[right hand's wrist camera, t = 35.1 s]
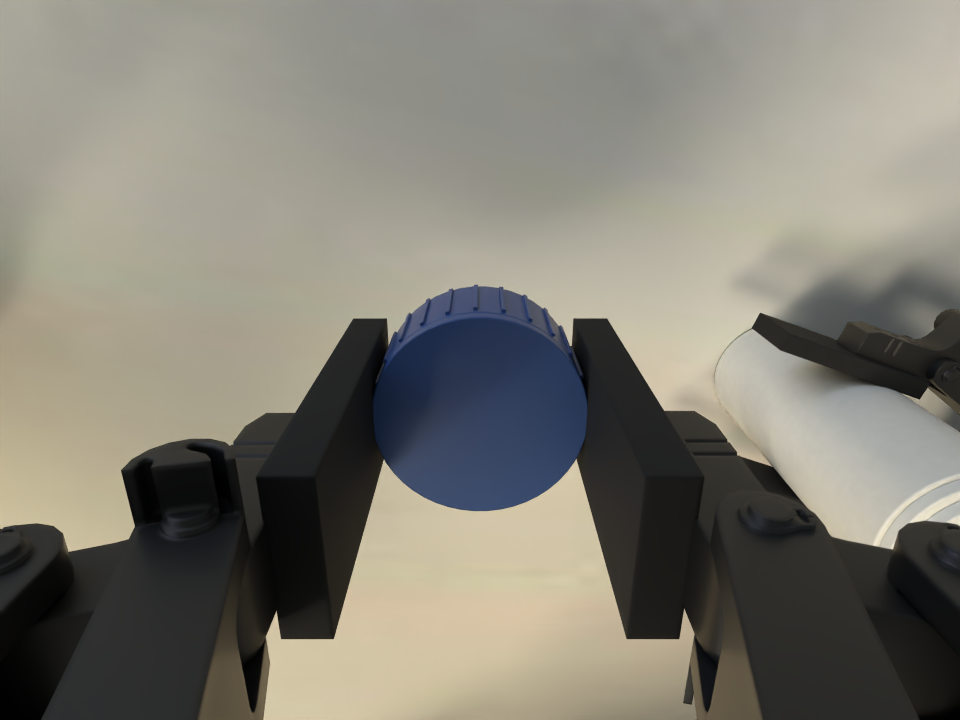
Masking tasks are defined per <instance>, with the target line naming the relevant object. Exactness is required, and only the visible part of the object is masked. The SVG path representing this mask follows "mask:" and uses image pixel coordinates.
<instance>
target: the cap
mask: <svg viewBox="0 0 960 720" xmlns="http://www.w3.org/2000/svg"><path fill="white" fill-rule="evenodd" d="M583 378H584V376H583V373H582V371H581V368H580V366H579V363H578V360H577V358H576V355H575V353H574V350H573V348H572V346H570V345H569V343H568V340H567V337H566V335H565V332H564V330H563V327H562V326H558V325H557V323H556V322H555V321H554V320H553V318H552V317H551V316H550V315H549V314H548V311H547V309H546V308H544V309H542V308H541V307H540V306H538V305H537V304H536V303H534V302H533V301H531V300H529V299H528V298H527V296H526V295H523V296H522V295H519V294H517V293H514V292H512V291H508V290H504V289H503V287H499V288H494V287H478V285H474V287H466V288H459V289H456V290H453V289H449V291H448V292H446V293H443V294H441V295H439V296H436V297H434V298H433V299H431V300H430V298H428V299H427V300H426V302H425V303H424V304H423V305H422V306H420V307H419V308H418V309H416V310H415V311H414V312H413V313H412V314H411V313H409V314H408V315H407V317H406V320H405V322H404V323H403V325H402V326H401V327H400V329H399V331H398V333H397V332H394V334H393V337H392V339H391V342H390V344H389V347H388V349H387V352H386V354H385V357H384V359H383V364H382V367H381V369H380V372H379V374H378V377H377V379H376V382H375V385H376V387H375V391H374V395H373V416H374V430H375V440H376V443H377V445H378V448H379V450H380V453H381V454H382V456H383V458H384V460H385V462H386V463H387V465H388V466H389V467H390V469H391V470H392V471H393V473H394V474H395V475H396V476H397V477H398V478H399V479H400V480H401V481H402V482H403V483H404V484H406V485H407V486H408V487H409V488H411V489H412V490H413V491H415V492H416V493H418V494H420V495H421V496H423V497H425V498H427V499H429V500H431V501H433V502H435V503H438V504H441V505H444V506H447V507H451V508H456V509H460V510H469V511H491V510H500V509H505V508H509V507H513V506H516V505H519V504H522V503H525V502H527V501H529V500H531V499H533V498H535V497H537V496H539V495H540V494H542V493H544V492H545V491H547V490H548V489H550V488H551V487H552V486H553V485H554V484H556V483H557V482H558V481H559V480H560V479H561V478H562V477H563V476H564V475H565V474H566V472H567V471H568V470H569V469H570V467H571V466H572V464H573V463H574V462H575V460H576V458H577V456H578V454H579V452H580V450H581V448H582V445H583V442H584V440H585V435H586V423H587V408H588V400H587V396H586V392H585V387H584V385H583V382H582V379H583Z"/></svg>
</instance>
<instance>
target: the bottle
mask: <svg viewBox="0 0 960 720" xmlns="http://www.w3.org/2000/svg"><path fill="white" fill-rule="evenodd" d="M714 388H715V393H716V396H717V398H718V401H719V402H720V404H721V406H722V407H723V408H724V409H725V411H726V412H727V413H728V414H729V415H730V416H731V418H732V419H733V420H734V421H735V422H736V424H737V425H738V426H739V427H740V428H741V430H742V431H743V432H744V433H745V434H746V435H747V437H748V438H749V439H750V440H751V441H752V443H753V444H754V445H755V446H756V447H757V449H758V450H759V451H760V452H761V453H762V454H763V456H764V457H765V458H766V459H767V460H768V462H769V463H770V464H771V465H772V466H773V468H774V469H775V470H776V471H777V472H778V473H779V475H780V476H781V477H782V478H783V479H784V481H785V482H786V483H787V484H788V485H789V487H790V488H791V489H792V490H793V491H794V492H795V494H796V495H797V496H798V497H799V498H800V500H801V501H802V502H803V503H804V504H805V506H806V507H807V508H808V509H809V510H811V511H812V512H814V513H815V514H816V515H817V516H818V518H819V519H820V520H821V521H822V523H823V524H824V525H825V527H826V529H827V531H828V533H829V534H830V535H831V536H832V537H835V538H839V539H843V540H847V541H852V542H857V543H862V544H867V545H872V546H878V547H883V548H888V549H893V547H894V544H895V541H896V538H897V534H898V531H899V530H900V529H901V528H903V527H904V526H905V525H906V524H908V523H913V522H919V521H933V522H947V523H952V524H957V525H958V526H960V432H959V431H957V430H956V429H954V428H953V427H951V426H950V425H948V424H947V423H945V422H944V421H942V420H941V419H939V418H938V417H936V416H934V415H933V414H931V413H930V412H928V411H927V410H925V409H924V408H922V407H921V406H919V405H918V404H916V403H915V402H913V401H912V400H910V399H909V398H907V397H906V396H904V395H903V394H901V393H900V392H897V391H895V390H892V389H889V388H886V387H883V386H880V385H877V384H874V383H871V382H869V381H866V380H863V379H860V378H857V377H854V376H851V375H849V374H846V373H843V372H840V371H837V370H834V369H832V368H829V367H826V366H823V365H820V364H817V363H814V362H812V361H809V360H806V359H803V358H800V357H797V356H794V355H792V354H789V353H786V352H783V351H780V350H779V349H778V348H776V347H775V346H774V345H772V344H771V343H770V342H769V341H767V340H766V339H765V338H764V337H762V336H761V335H760V334H758V333H757V332H756V331H755V330H753V329H752V330H749V331H747V332H746V333H744V334H742V335H741V336H740V337H738V338H737V339H736V340H735V341H733V342H732V343H731V344H730V345H729V347H728V348H727V349H726V350H725V352H724V353H723V355H722V356H721V358H720V360H719V362H718V365H717V367H716V371H715V377H714Z"/></svg>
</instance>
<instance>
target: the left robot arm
mask: <svg viewBox="0 0 960 720" xmlns="http://www.w3.org/2000/svg"><path fill="white" fill-rule="evenodd" d="M752 329H753V330H755V331H756V332H757V333H758V334H760V335H761V336H762V337H764V338H765V339H766V340H767V341H769V342H770V343H771V344H772V345H774V346H775V347H776V348H778V349H779V350H780V351H783V352H786V353H789V354H792V355H794V356H797V357H800V358H803V359H806V360H809V361H812V362H814V363H817V364H820V365H823V366H826V367H829V368H832V369H834V370H837V371H840V372H843V373H846V374H849V375H851V376H854V377H857V378H860V379H863V380H866V381H869V382H871V383H874V384H877V385H880V386H883V387H886V388H889V389H892V390H895V391H897V392H900V393H903V394H906V395H909V396H911V397H914V398H917V399H920V398H921V397H922V395H923V394H924V392H925V391H926V389H927V388H929V389H930V390H931V391H932V392H934V393H935V394H936V395H937V396H938V397H939V398H941V399H942V400H943V401H944V402H945V403H946V404H948V405H949V406H950V407H951V408H952V409H953V410H955V411H956V412H957V413H958V414H959V415H960V311H959V310H955V309H948V310H945V311H943V312H941V313H940V314H939V315H938V316H937V318H936V320H935V322H934V330H933V331H932V332H931V333H929V334H928V335H927V336H925V337H923V338H921V339H917V340H914V339H912V338H910V337H908V336H903V335H901V336H899V335H896V334H893V333H890V332H888V331H885V330H882V329H880V328H877V327H874V326H871V325H869V324H866V323H863V322H848V324H847V325H846V327H845V329H844V330H843V332H842V334H841V335H840V337H839V339H838V340H835V339H832V338H829V337H826V336H824V335H821V334H818V333H815V332H813V331H810V330H807V329H804V328H801V327H799V326H796V325H793V324H790V323H787V322H785V321H782V320H779V319H776V318H773V317H771V316H768V315H765V314H762V313H760V314H759V316H758V318H757V319H756V321H755V323H754V325H753V327H752ZM741 458H742V460H743V461H744V462H745V464H746V465H747V466H748V468H749V469H750V470H751V472H752V473H753V474H754V476H755V477H756V478H757V480H758V481H759V482H760V483H761V485H762V486H763V487H764V489H765V490H766V491H767V492H768V493H773V494H778V495H781V496H784V497H786V498H789V499H791V500H794V501H796V502H799V503H800V504H802V505H803V506H805V504H804V503H803V502H802V501H801V500H800V498H799V497H798V496H797V495H796V494H795V492H794V491H793V490H792V489H791V488H790V487H789V485H788V484H787V483H786V482H785V481H784V479H783V478H782V477H781V476H780V475H779V473H778V472H777V471H776V470H775V469H774V468H773V467H771V466H768V465H765V464H762V463H759V462H756V461H752V460H749V459H746V458H743V457H741ZM805 507H806V506H805ZM806 508H807V507H806ZM829 535H830V534H829ZM830 536H831V535H830ZM831 537H832V536H831Z"/></svg>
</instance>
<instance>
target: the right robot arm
mask: <svg viewBox="0 0 960 720" xmlns="http://www.w3.org/2000/svg"><path fill="white" fill-rule="evenodd" d="M572 348H573V350H574V353H575V355H576V358H577V360H578V363H579V366H580V368H581V371H582V373H583V376H584V378H583V379H582V382H583V385H584V387H585V392H586V396H587V400H588V408H587V423H586V435H585V440H584V442H583V445H582V448H581V450H580V452H579V454H578V456H577V458H576V459H577V462H578V466H579V469H580V473H581V477H582V480H583V484H584V487H585V491H586V494H587V498H588V502H589V505H590V509H591V512H592V516H593V520H594V523H595V527H596V530H597V534H598V538H599V541H600V545H601V548H602V552H603V556H604V559H605V563H606V566H607V570H608V574H609V577H610V581H611V584H612V588H613V591H614V595H615V599H616V602H617V606H618V609H619V613H620V617H621V620H622V624H623V627H624V631H625V635H626V638H627V639H679V637H680V631H681V624H682V618H683V612H684V609H685V611H686V614H687V616H688V618H689V621H690V623H691V626H692V628H693V630H694V633H695V635H694V641H693V647H692V653H691V659H690V665H689V671H688V677H687V683H686V688H685V695H684V702H683V703H686V704H691V705H692V700H693V695H694V698H695V707H696V715H697V720H960V526H958V525H957V524H952V523H947V522H933V521H919V522H913V523H908V524H906V525H905V526H904V527H903V528H901V529H900V530H899V531H898V534H897V538H896V541H895V544H894V547H893V549H888V548H883V547H878V546H872V545H867V544H862V543H857V542H852V541H847V540H843V539H839V538H835V537H831V536H830V535H829V533H828V531H827V529H826V527H825V525H824V524H823V523H822V521H821V520H820V519H819V518H818V516H817V515H816V514H815V513H814V512H812V511H811V510H809V509H808V508H806V507H805V506H803V505H802V504H800V503H799V502H796V501H794V500H791V499H789V498H786V497H784V496H781V495H778V494H773V493H768V492H767V491H766V490H765V489H764V487H763V486H762V485H761V483H760V482H759V481H758V480H757V478H756V477H755V476H754V474H753V473H752V472H751V470H750V469H749V468H748V466H747V465H746V464H745V462H744V461H743V460H742V458H741V457H740V456H737V452H736V450H735V449H734V448H733V447H732V445H731V444H730V443H727V439H726V437H725V436H724V435H723V433H722V432H721V431H720V429H719V428H718V427H717V425H716V424H714V423H713V422H711V421H710V420H708V419H706V418H705V417H703V416H702V415H700V414H698V413H697V412H695V411H664V410H663V408H662V407H661V405H660V404H659V402H658V400H657V399H656V397H655V396H654V394H653V392H652V391H651V389H650V387H649V386H648V384H647V383H646V381H645V379H644V378H643V376H642V374H641V373H640V371H639V370H638V368H637V366H636V365H635V363H634V362H633V360H632V358H631V357H630V355H629V353H628V352H627V350H626V349H625V347H624V345H623V344H622V342H621V340H620V339H619V337H618V336H617V334H616V332H615V331H614V329H613V328H612V326H611V324H610V323H609V321H608V319H574V320H573V337H572ZM387 349H388V330H387V319H353V320H352V322H351V323H350V325H349V327H348V328H347V330H346V331H345V333H344V335H343V336H342V338H341V340H340V341H339V343H338V344H337V346H336V348H335V349H334V351H333V353H332V354H331V356H330V357H329V359H328V361H327V362H326V364H325V365H324V367H323V369H322V370H321V372H320V374H319V375H318V377H317V378H316V380H315V382H314V383H313V385H312V387H311V388H310V390H309V391H308V393H307V395H306V396H305V398H304V400H303V401H302V403H301V404H300V406H299V408H298V409H297V411H296V412H295V413H266V414H264V415H262V416H261V417H259V418H258V419H256V420H254V421H253V422H251V423H250V424H248V425H246V426H245V427H244V429H243V430H242V431H241V433H240V434H239V435H238V437H237V438H236V439H235V441H234V444H233V445H231V446H229V445H228V444H227V443H225V442H222V441H217V440H213V439H187V440H182V441H176V442H171V443H167V444H164V445H161V446H158V447H155V448H153V449H150V450H148V451H146V452H144V453H142V454H141V455H139V456H137V457H135V458H133V459H132V460H131V461H130V462H129V463H128V464H127V465H126V466H125V467H124V468H123V469H122V470H121V472H122V476H123V480H124V484H125V488H126V492H127V496H128V500H129V504H130V508H131V512H132V516H133V520H134V524H135V528H134V530H133V532H132V534H131V536H130V538H129V540H125V541H121V542H117V543H112V544H107V545H102V546H97V547H92V548H87V549H82V550H77V551H72V552H68V549H67V546H66V542H65V539H64V536H63V533H62V532H60V531H59V530H58V529H57V528H55V527H54V526H49V525H43V524H37V523H36V524H26V525H14V526H9V527H4V528H3V529H0V720H263V717H264V708H265V700H266V691H267V683H268V675H269V666H270V660H269V653H268V647H267V641H266V635H267V632H268V630H269V628H270V625H271V623H272V620H273V618H274V615H275V613H276V610H277V615H278V622H279V628H280V634H281V639H334V636H335V633H336V629H337V625H338V622H339V618H340V615H341V611H342V607H343V604H344V600H345V597H346V593H347V589H348V586H349V582H350V579H351V575H352V571H353V568H354V564H355V561H356V557H357V553H358V550H359V546H360V543H361V539H362V536H363V532H364V528H365V525H366V521H367V518H368V514H369V510H370V507H371V503H372V500H373V496H374V492H375V489H376V485H377V482H378V478H379V474H380V471H381V467H382V464H383V460H384V458H383V456H382V454H381V453H380V450H379V448H378V445H377V443H376V440H375V430H374V416H373V395H374V391H375V387H376V385H375V382H376V379H377V377H378V374H379V372H380V369H381V367H382V364H383V359H384V357H385V354H386V352H387Z"/></svg>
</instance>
